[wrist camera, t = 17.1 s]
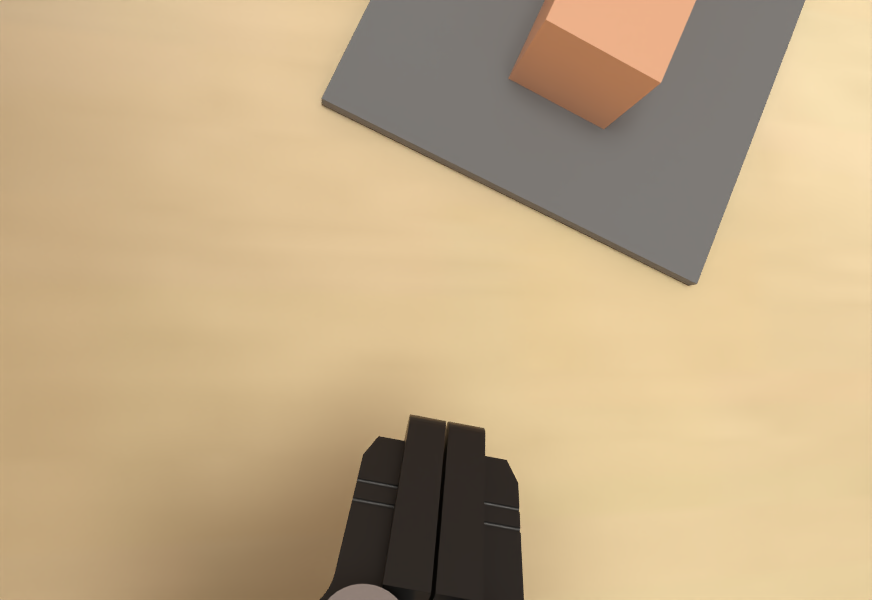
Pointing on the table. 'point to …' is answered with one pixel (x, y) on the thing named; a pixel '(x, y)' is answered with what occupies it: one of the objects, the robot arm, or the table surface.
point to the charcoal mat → (573, 117)
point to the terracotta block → (600, 53)
